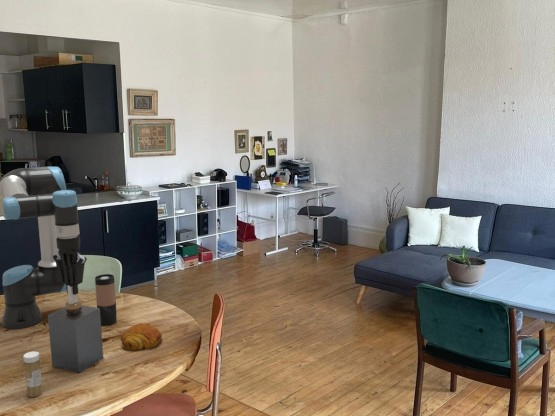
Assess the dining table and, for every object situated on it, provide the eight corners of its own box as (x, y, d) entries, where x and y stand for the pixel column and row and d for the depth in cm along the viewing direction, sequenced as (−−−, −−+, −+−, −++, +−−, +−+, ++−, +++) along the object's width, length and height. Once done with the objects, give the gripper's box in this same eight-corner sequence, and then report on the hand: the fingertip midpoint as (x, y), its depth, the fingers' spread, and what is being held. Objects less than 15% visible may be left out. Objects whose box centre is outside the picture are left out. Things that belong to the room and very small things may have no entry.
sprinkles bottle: (24, 394, 175) (20, 354, 173) (38, 388, 179) (34, 349, 176) (31, 399, 172) (27, 358, 170) (45, 393, 176) (41, 353, 173)
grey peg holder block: (52, 366, 194) (47, 315, 190) (77, 352, 204) (73, 303, 201) (79, 373, 189) (74, 320, 185) (103, 358, 200) (99, 308, 196)
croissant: (115, 353, 209) (111, 334, 206) (139, 332, 222) (135, 314, 220) (148, 358, 203) (144, 339, 201) (170, 336, 217) (167, 318, 215)
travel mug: (120, 319, 236) (117, 274, 232) (113, 326, 228) (109, 279, 224) (102, 319, 236) (99, 273, 233) (95, 326, 229) (91, 279, 225)
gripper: (44, 237, 187) (50, 304, 192) (74, 240, 182) (80, 309, 186) (61, 232, 194) (67, 297, 198) (90, 235, 189) (95, 301, 193)
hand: (73, 302), depth 192 cm, fingers closed
